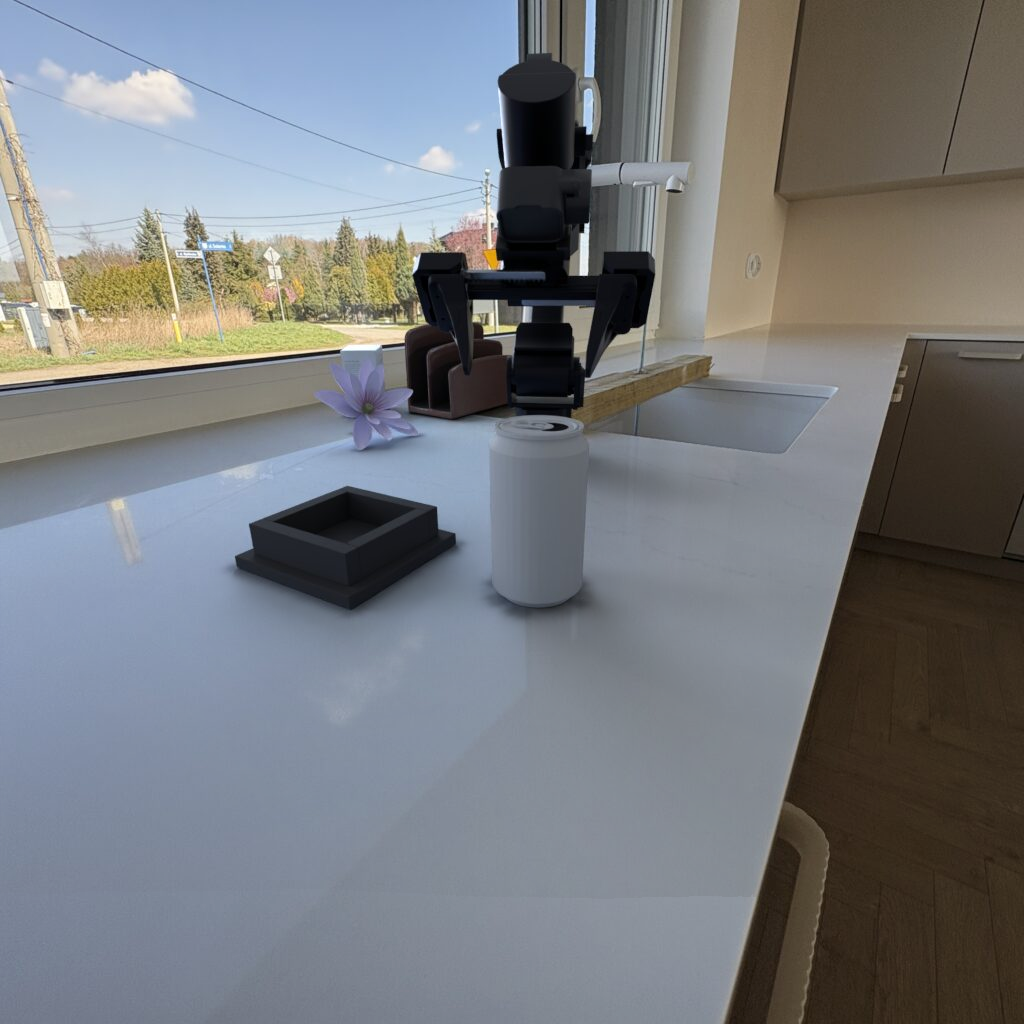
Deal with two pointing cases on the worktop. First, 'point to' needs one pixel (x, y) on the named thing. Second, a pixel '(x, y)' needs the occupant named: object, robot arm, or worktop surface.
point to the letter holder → (453, 373)
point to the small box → (361, 359)
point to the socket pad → (345, 544)
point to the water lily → (367, 403)
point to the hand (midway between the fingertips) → (526, 373)
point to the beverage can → (538, 508)
